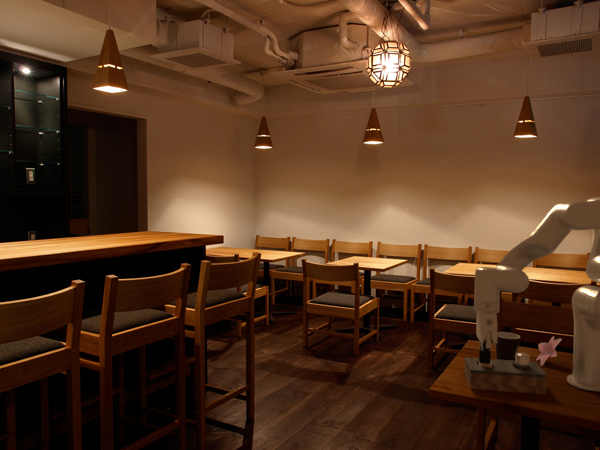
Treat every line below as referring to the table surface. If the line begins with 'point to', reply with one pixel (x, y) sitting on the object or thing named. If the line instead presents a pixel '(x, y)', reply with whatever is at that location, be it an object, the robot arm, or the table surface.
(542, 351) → the lily
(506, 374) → the block
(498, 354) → the coffee mug
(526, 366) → the steel peg
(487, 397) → the table surface
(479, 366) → the maple peg
